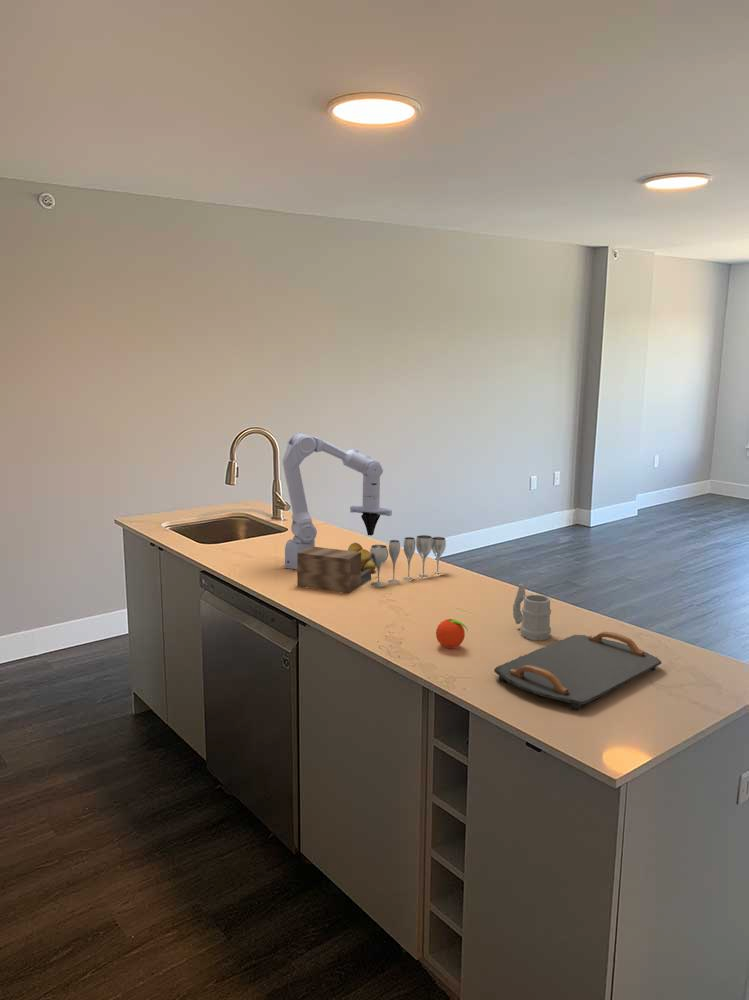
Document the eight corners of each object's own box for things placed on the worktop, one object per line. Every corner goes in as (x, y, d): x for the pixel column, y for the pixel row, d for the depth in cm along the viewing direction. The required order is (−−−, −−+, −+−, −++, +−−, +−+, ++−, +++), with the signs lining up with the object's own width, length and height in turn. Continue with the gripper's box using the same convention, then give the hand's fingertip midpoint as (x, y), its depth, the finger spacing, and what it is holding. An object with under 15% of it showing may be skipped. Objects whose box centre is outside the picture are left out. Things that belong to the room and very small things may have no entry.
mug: (535, 643, 189) (537, 596, 187) (502, 629, 199) (504, 584, 196) (557, 637, 193) (560, 591, 191) (523, 623, 203) (526, 580, 201)
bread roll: (382, 571, 251) (382, 547, 249) (360, 577, 244) (360, 552, 243) (356, 563, 260) (356, 540, 258) (334, 568, 253) (334, 544, 252)
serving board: (574, 721, 149) (576, 691, 148) (482, 683, 166) (483, 656, 165) (669, 669, 175) (671, 643, 174) (581, 641, 192) (582, 617, 191)
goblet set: (437, 571, 252) (439, 531, 249) (448, 575, 247) (450, 535, 245) (365, 583, 237) (366, 541, 235) (375, 588, 232) (376, 545, 230)
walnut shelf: (297, 586, 233) (297, 552, 231) (322, 572, 248) (322, 540, 246) (348, 593, 226) (348, 559, 224) (371, 579, 241) (371, 546, 240)
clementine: (472, 645, 187) (473, 617, 185) (463, 655, 181) (464, 626, 179) (441, 640, 190) (441, 612, 189) (431, 649, 184) (432, 621, 182)
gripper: (395, 495, 259) (394, 534, 261) (356, 491, 264) (355, 530, 267) (387, 498, 252) (387, 538, 255) (347, 495, 258) (347, 534, 260)
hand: (370, 534), depth 260 cm, fingers closed
